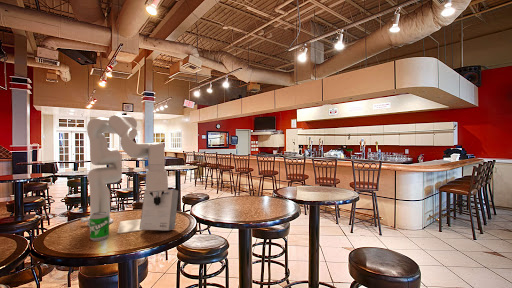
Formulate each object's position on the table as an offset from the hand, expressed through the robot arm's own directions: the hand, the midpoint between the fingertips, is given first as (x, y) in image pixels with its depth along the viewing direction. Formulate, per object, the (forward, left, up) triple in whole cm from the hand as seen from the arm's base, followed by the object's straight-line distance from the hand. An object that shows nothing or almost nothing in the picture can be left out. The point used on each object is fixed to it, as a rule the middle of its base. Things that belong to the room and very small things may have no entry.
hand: (157, 204), depth 122 cm
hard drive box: (0, +3, -13) cm, 13 cm away
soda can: (-25, +6, -14) cm, 29 cm away
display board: (-4, +20, -14) cm, 24 cm away
